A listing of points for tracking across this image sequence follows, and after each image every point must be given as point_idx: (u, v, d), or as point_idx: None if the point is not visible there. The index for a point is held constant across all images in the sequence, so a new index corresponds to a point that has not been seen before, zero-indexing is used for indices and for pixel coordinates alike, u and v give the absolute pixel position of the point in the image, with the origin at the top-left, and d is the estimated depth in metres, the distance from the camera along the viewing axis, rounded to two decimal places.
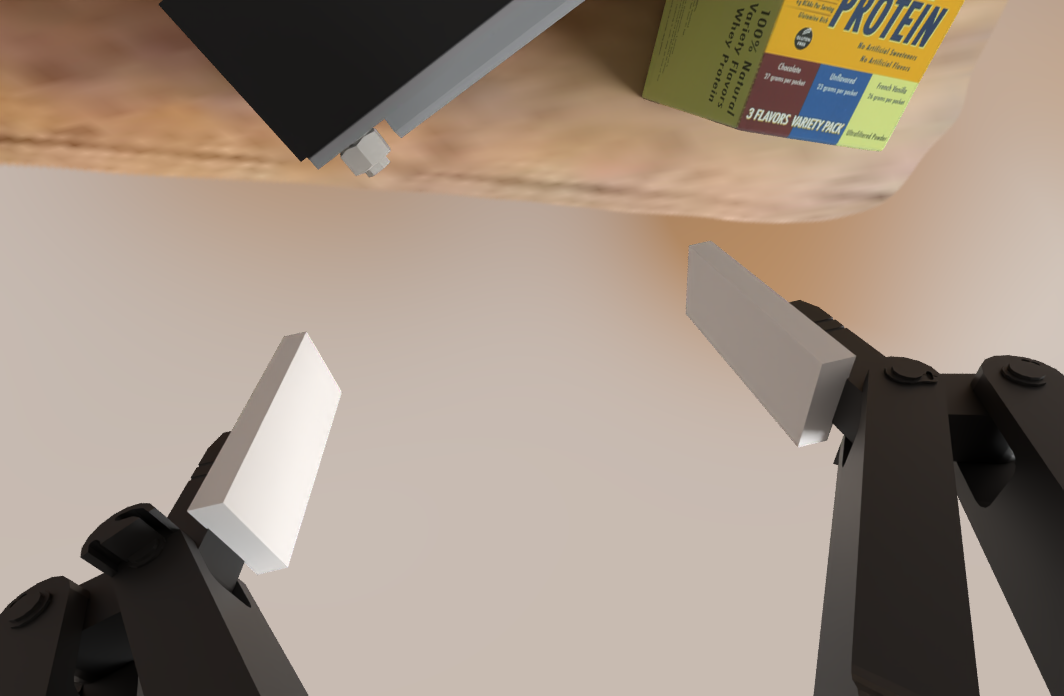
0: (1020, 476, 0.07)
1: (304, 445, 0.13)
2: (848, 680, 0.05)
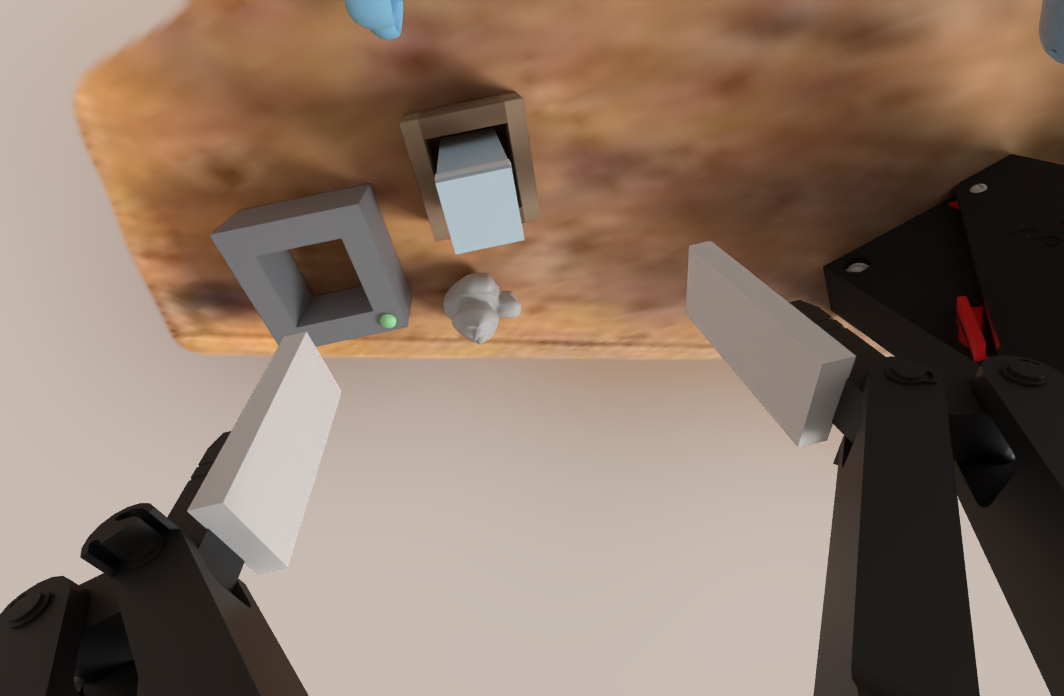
0: (1020, 476, 0.07)
1: (304, 445, 0.13)
2: (848, 680, 0.05)
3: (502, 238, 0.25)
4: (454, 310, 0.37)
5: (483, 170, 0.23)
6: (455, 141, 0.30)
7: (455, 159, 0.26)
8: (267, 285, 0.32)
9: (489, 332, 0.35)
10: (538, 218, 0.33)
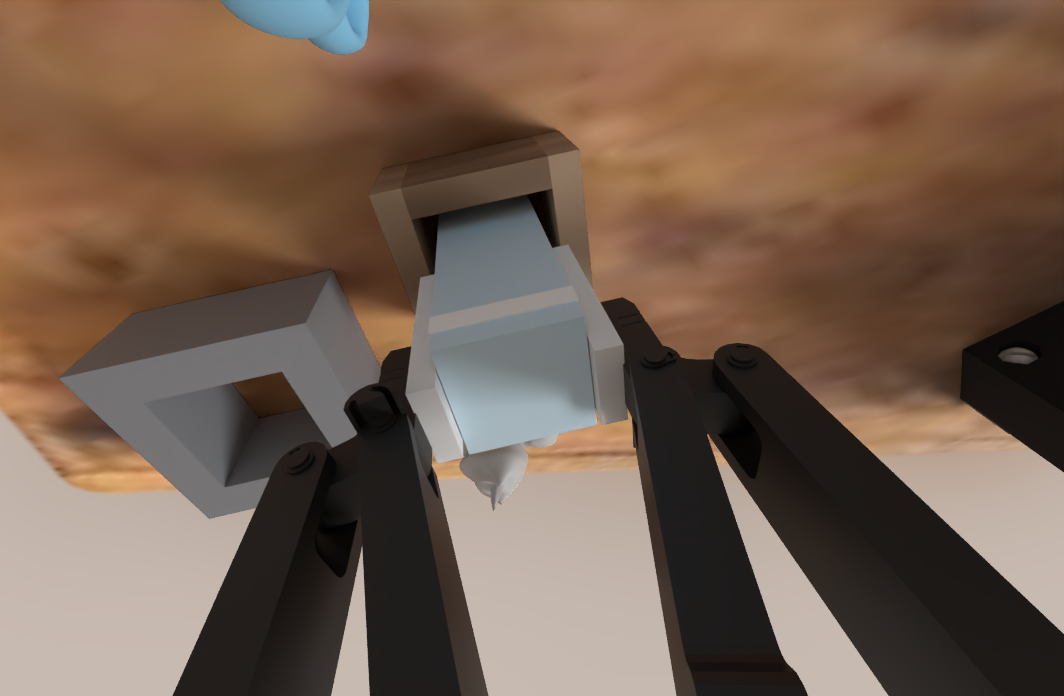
0: (766, 449, 0.09)
1: None
2: (684, 662, 0.06)
3: (557, 425, 0.13)
4: None
5: (526, 318, 0.11)
6: (463, 213, 0.19)
7: (466, 267, 0.15)
8: (170, 439, 0.20)
9: (515, 483, 0.24)
10: None
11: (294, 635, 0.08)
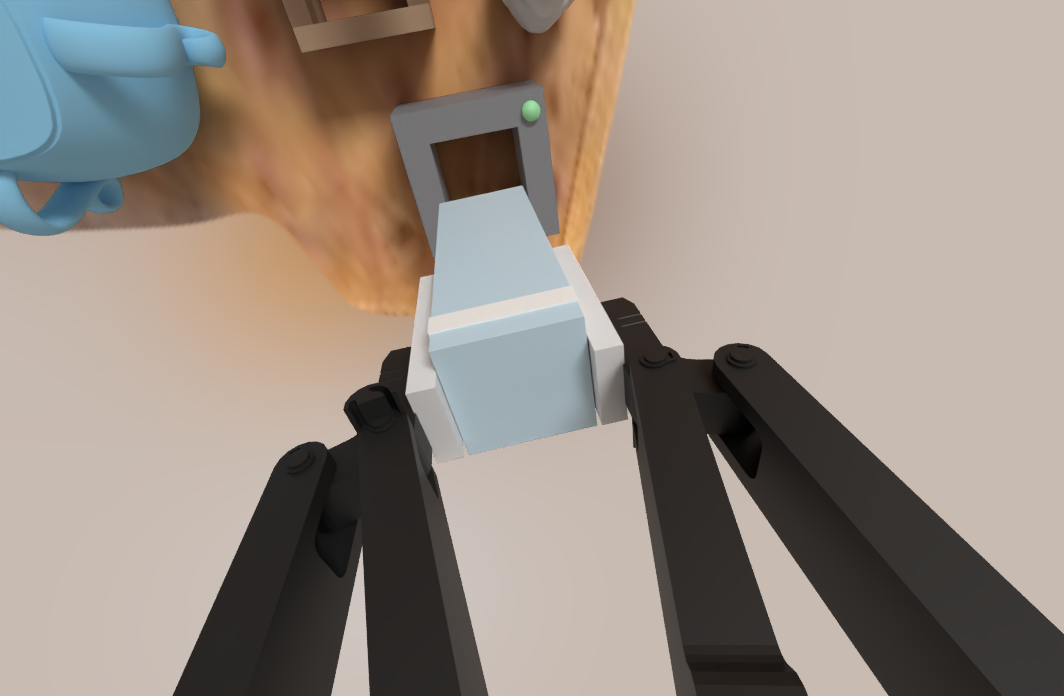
0: (766, 448, 0.09)
1: None
2: (684, 662, 0.06)
3: (556, 426, 0.13)
4: None
5: (525, 318, 0.11)
6: (463, 213, 0.19)
7: (466, 267, 0.14)
8: None
9: None
10: None
11: (294, 635, 0.08)
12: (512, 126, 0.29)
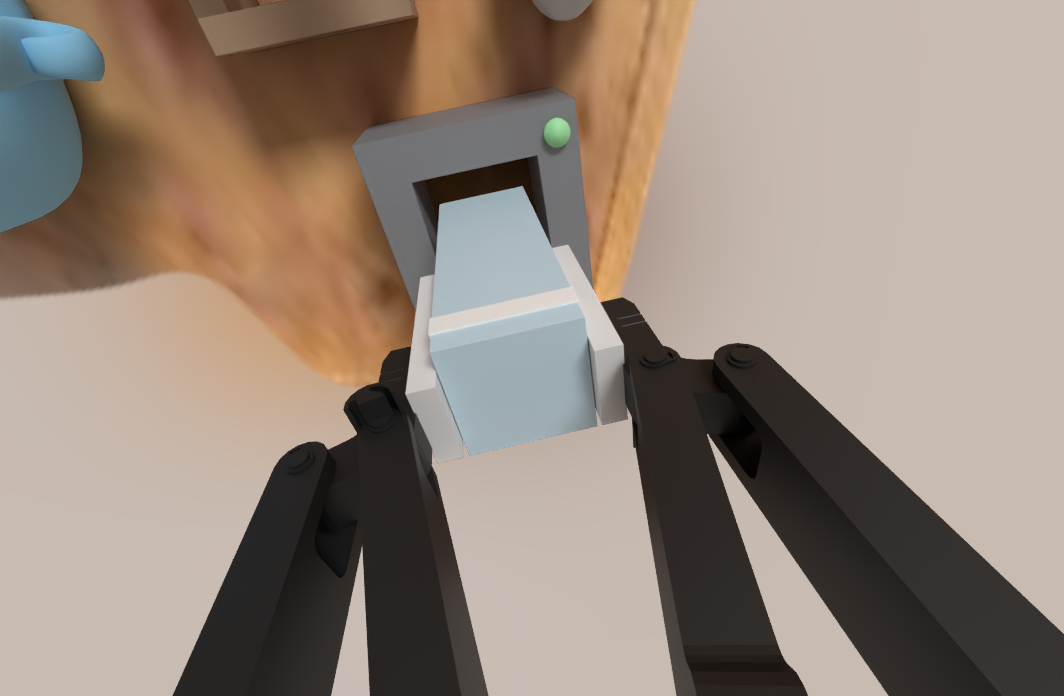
0: (766, 449, 0.09)
1: None
2: (685, 662, 0.06)
3: (557, 427, 0.13)
4: None
5: (526, 319, 0.11)
6: (463, 214, 0.19)
7: (466, 268, 0.15)
8: None
9: None
10: None
11: (294, 635, 0.08)
12: (529, 155, 0.20)
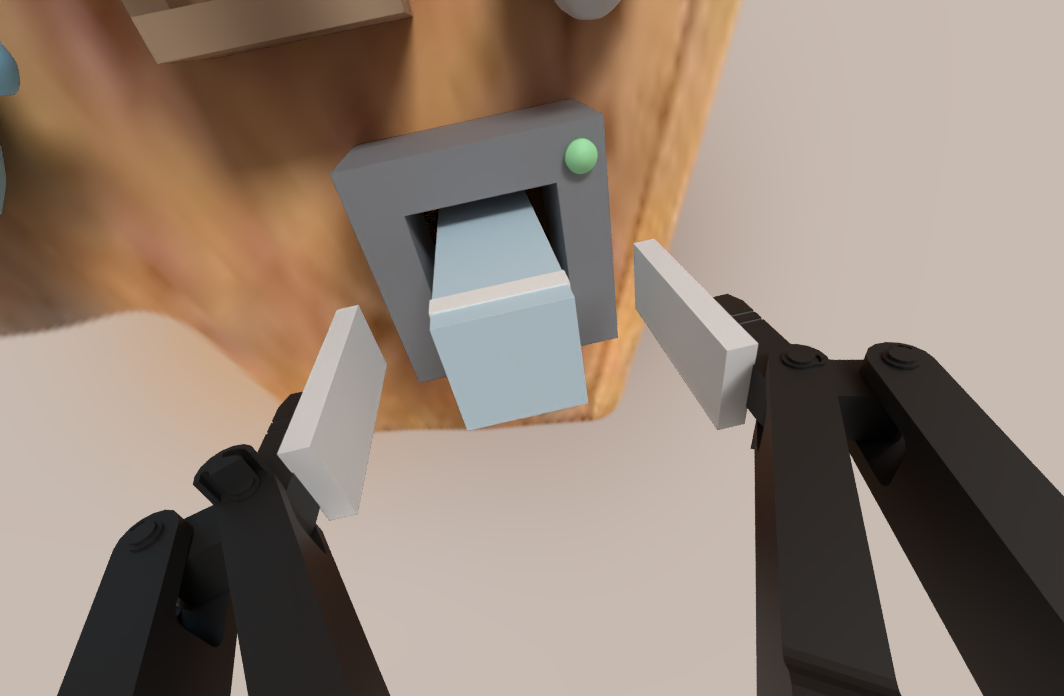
0: (911, 455, 0.08)
1: (362, 407, 0.14)
2: (781, 662, 0.06)
3: (550, 403, 0.14)
4: None
5: (520, 299, 0.12)
6: (462, 206, 0.20)
7: (465, 255, 0.15)
8: None
9: None
10: None
11: None
12: (547, 182, 0.17)
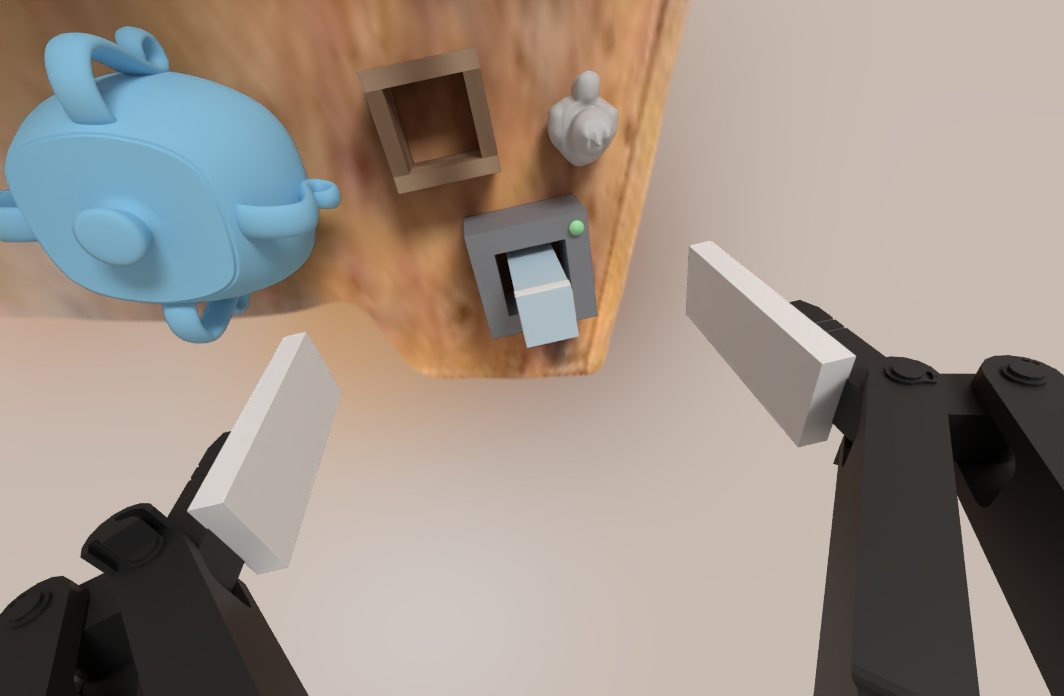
0: (1020, 476, 0.07)
1: (304, 445, 0.13)
2: (848, 680, 0.05)
3: (562, 335, 0.33)
4: None
5: (551, 290, 0.31)
6: None
7: (524, 273, 0.35)
8: None
9: (599, 121, 0.31)
10: (474, 50, 0.29)
11: None
12: (561, 239, 0.36)
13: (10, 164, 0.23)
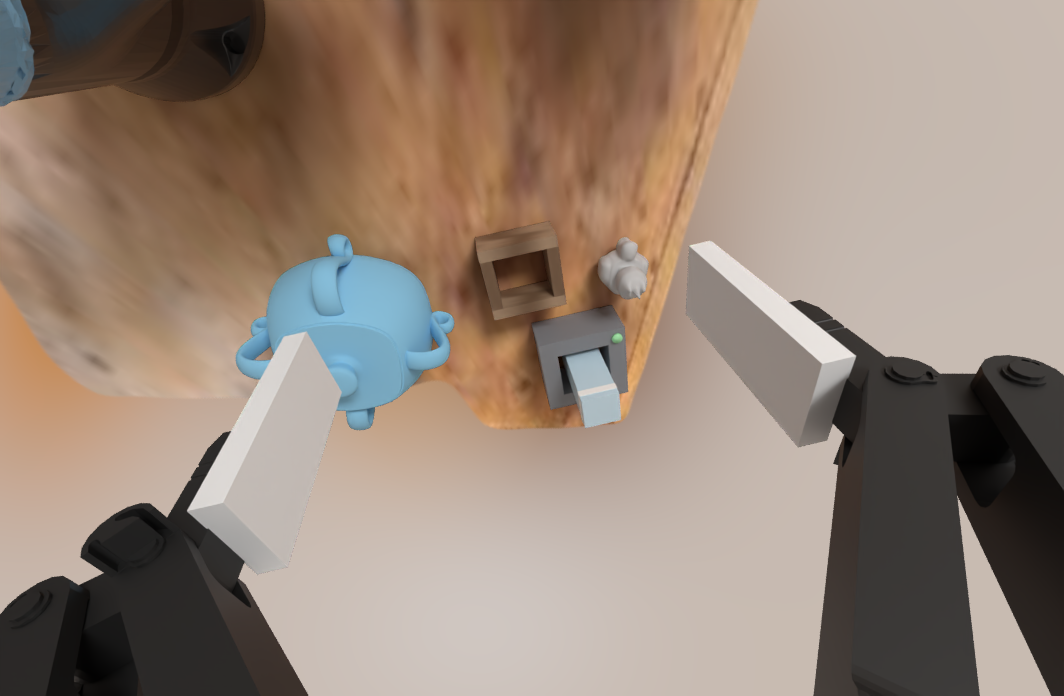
0: (1020, 476, 0.07)
1: (304, 445, 0.13)
2: (848, 680, 0.05)
3: (609, 420, 0.48)
4: None
5: (604, 392, 0.46)
6: None
7: (581, 373, 0.49)
8: None
9: (638, 280, 0.45)
10: (555, 236, 0.43)
11: None
12: (605, 345, 0.51)
13: (280, 341, 0.37)
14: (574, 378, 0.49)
